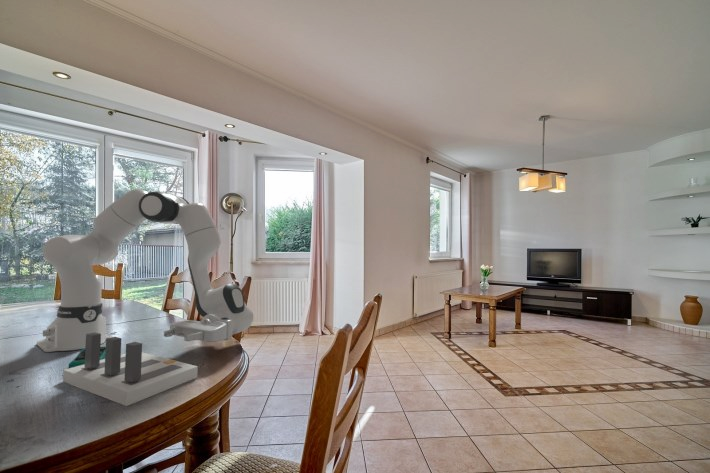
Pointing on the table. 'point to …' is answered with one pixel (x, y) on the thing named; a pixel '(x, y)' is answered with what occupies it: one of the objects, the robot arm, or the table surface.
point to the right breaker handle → (133, 361)
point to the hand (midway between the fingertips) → (175, 336)
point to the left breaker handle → (92, 350)
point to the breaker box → (114, 387)
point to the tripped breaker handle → (112, 355)
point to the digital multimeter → (81, 358)
